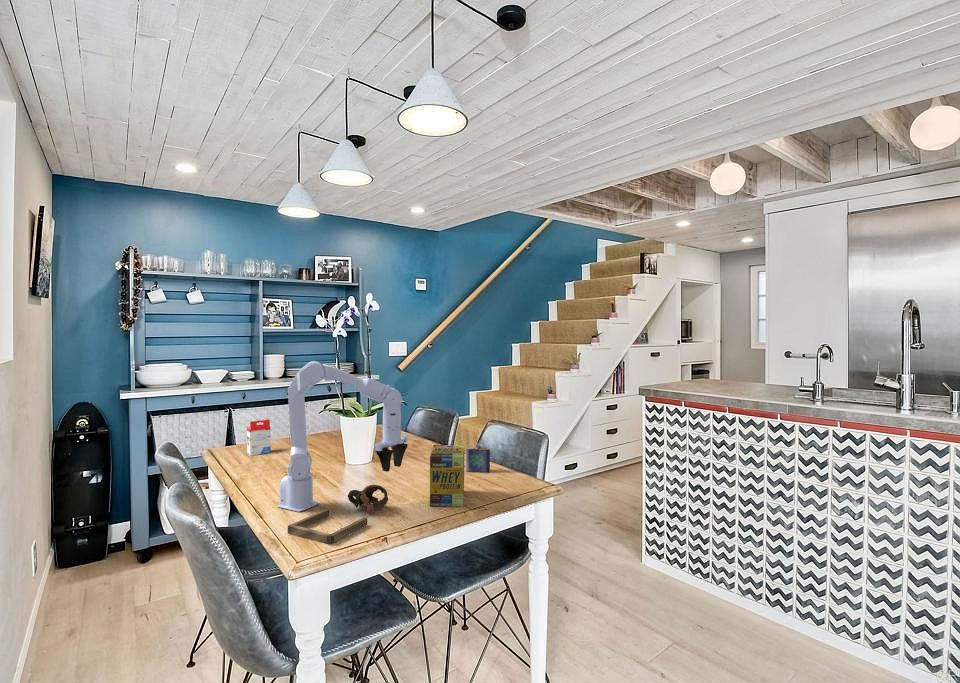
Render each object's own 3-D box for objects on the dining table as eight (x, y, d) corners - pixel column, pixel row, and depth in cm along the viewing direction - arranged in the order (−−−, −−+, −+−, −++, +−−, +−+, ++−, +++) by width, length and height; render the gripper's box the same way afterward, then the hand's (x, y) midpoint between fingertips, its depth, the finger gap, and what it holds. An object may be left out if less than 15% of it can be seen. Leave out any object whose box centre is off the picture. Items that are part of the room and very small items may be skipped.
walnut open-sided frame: (287, 533, 131) (287, 525, 130) (326, 515, 143) (326, 508, 143) (330, 544, 124) (330, 536, 124) (367, 525, 136) (367, 517, 136)
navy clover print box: (465, 471, 188) (465, 443, 187) (466, 469, 191) (467, 442, 190) (489, 473, 186) (489, 445, 186) (490, 471, 189) (490, 443, 189)
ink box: (267, 450, 218) (267, 417, 218) (270, 453, 214) (270, 419, 214) (246, 453, 213) (246, 419, 212) (249, 456, 209) (249, 421, 209)
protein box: (429, 507, 150) (429, 456, 150) (433, 490, 166) (433, 444, 165) (463, 507, 151) (464, 456, 150) (464, 490, 166) (464, 444, 166)
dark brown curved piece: (385, 503, 155) (392, 484, 151) (381, 527, 146) (387, 508, 143) (347, 495, 153) (352, 476, 149) (340, 519, 144) (346, 499, 141)
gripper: (388, 431, 150) (387, 476, 150) (415, 423, 162) (415, 464, 163) (369, 429, 153) (369, 473, 153) (397, 421, 166) (397, 462, 166)
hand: (391, 468), depth 158 cm, fingers open, 5 cm apart
